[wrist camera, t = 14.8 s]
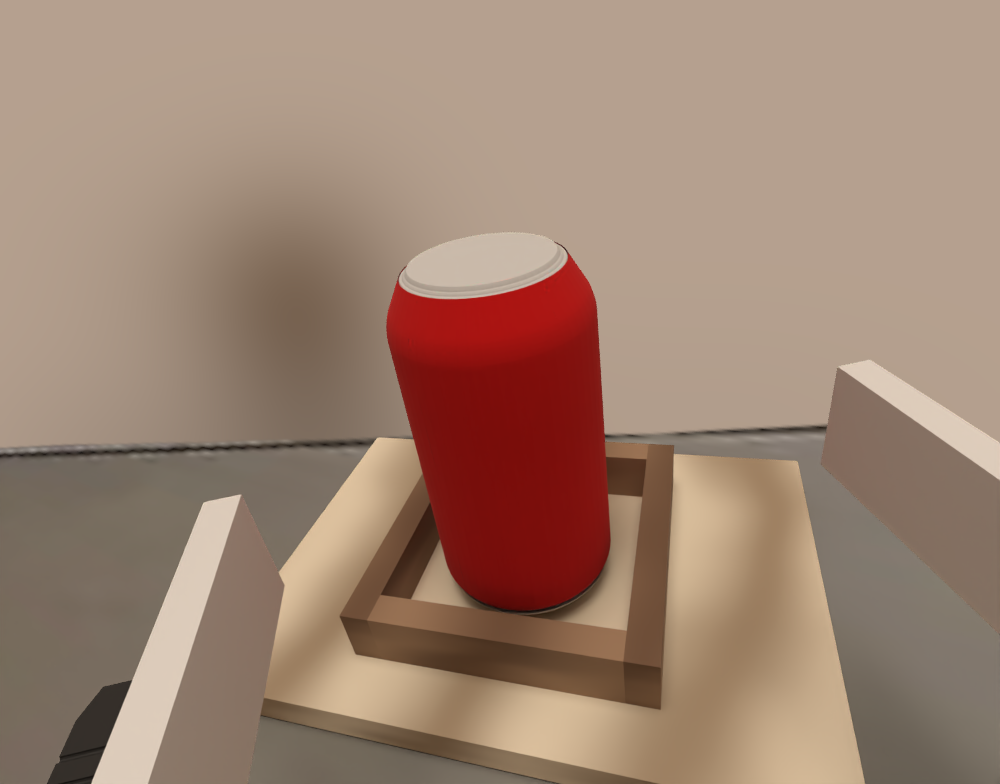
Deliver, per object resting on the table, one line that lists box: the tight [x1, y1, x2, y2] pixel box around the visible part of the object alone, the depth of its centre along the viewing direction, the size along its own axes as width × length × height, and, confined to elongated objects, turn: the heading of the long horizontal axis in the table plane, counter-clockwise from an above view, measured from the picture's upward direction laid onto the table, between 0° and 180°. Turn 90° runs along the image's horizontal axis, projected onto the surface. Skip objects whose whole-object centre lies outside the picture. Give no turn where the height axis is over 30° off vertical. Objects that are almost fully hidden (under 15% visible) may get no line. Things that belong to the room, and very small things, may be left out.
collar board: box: [261, 438, 865, 784], centre depth 23 cm, size 20×14×3 cm
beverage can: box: [386, 232, 611, 615], centre depth 20 cm, size 6×6×12 cm
